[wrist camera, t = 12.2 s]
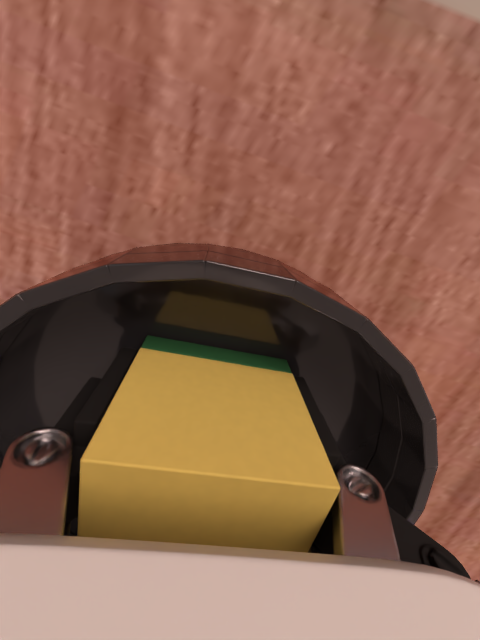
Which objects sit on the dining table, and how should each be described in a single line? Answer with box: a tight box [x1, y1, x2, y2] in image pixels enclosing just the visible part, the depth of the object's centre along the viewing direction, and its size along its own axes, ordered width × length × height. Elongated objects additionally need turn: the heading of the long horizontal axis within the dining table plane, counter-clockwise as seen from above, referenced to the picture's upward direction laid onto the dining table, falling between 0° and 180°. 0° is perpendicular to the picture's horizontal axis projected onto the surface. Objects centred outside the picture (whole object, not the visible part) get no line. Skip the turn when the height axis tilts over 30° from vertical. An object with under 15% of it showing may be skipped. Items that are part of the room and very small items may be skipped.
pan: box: [0, 243, 438, 536], centre depth 12 cm, size 18×18×4 cm
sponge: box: [77, 335, 340, 553], centre depth 9 cm, size 4×6×6 cm
